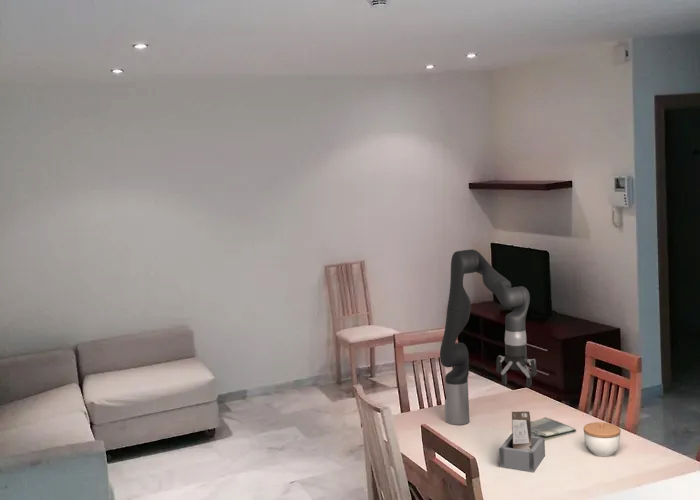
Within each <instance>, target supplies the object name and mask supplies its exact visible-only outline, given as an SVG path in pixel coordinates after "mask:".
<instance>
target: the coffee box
mask: <svg viewBox="0 0 700 500" xmlns="http://www.w3.org/2000/svg"><path fill="white" fill-rule="evenodd" d="M530 421H531V414H530V411H527V410H526V411H523V410H522V411H511V431H512V433H511V434H512V436H513V448H514V449H521V450H528V451H530V450H531V422H530Z"/></svg>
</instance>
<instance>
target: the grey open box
mask: <svg viewBox="0 0 700 500" xmlns="http://www.w3.org/2000/svg"><path fill="white" fill-rule="evenodd" d="M545 441H546V440H545V438H544V437H536V436H531V450H530V451H528V450H521V449H514V448H513V436H512V433H511V434H509V436H508V437H507V439H505V441H504V442H503V443H502V444H501V445H500V447H498V448H499V452H498V454H499V468H503V469H509V470H516V471H521V472H527V473H536V470H537V469H538V467H539V466H540V464H541V463H542V462H543V460H544V459H545V457H546V445H545Z"/></svg>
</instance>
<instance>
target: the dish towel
mask: <svg viewBox="0 0 700 500" xmlns="http://www.w3.org/2000/svg"><path fill="white" fill-rule="evenodd" d="M530 422H531V436H536V437H544V438H545V441H548V440H552V439H556V438H558V437H563V436H567V435H570V434H575V433H576V432H577V429H576V428H574V427H573V426H570V425H569V424H564V423H562V422H560V421H558V420H554V419H552V418H548V417H542V418H539V419H536V420H530Z"/></svg>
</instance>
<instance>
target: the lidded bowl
mask: <svg viewBox="0 0 700 500" xmlns="http://www.w3.org/2000/svg"><path fill="white" fill-rule="evenodd" d="M583 436H584V437H583V438H584V441H585V442H584V443H585V444H586V447H587V448H588V449H589V450H590V452H591V453H592V454H593V455H595V456H599V457H611V456H613V455H614V453H615V452H616V451H617V450H618V448H619V447H620V442H621V428H620V427H619V426H618V425H616V424H613V423H609V422H601V421H599V422H590V423H587V424H585V425H584V426H583Z"/></svg>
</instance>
